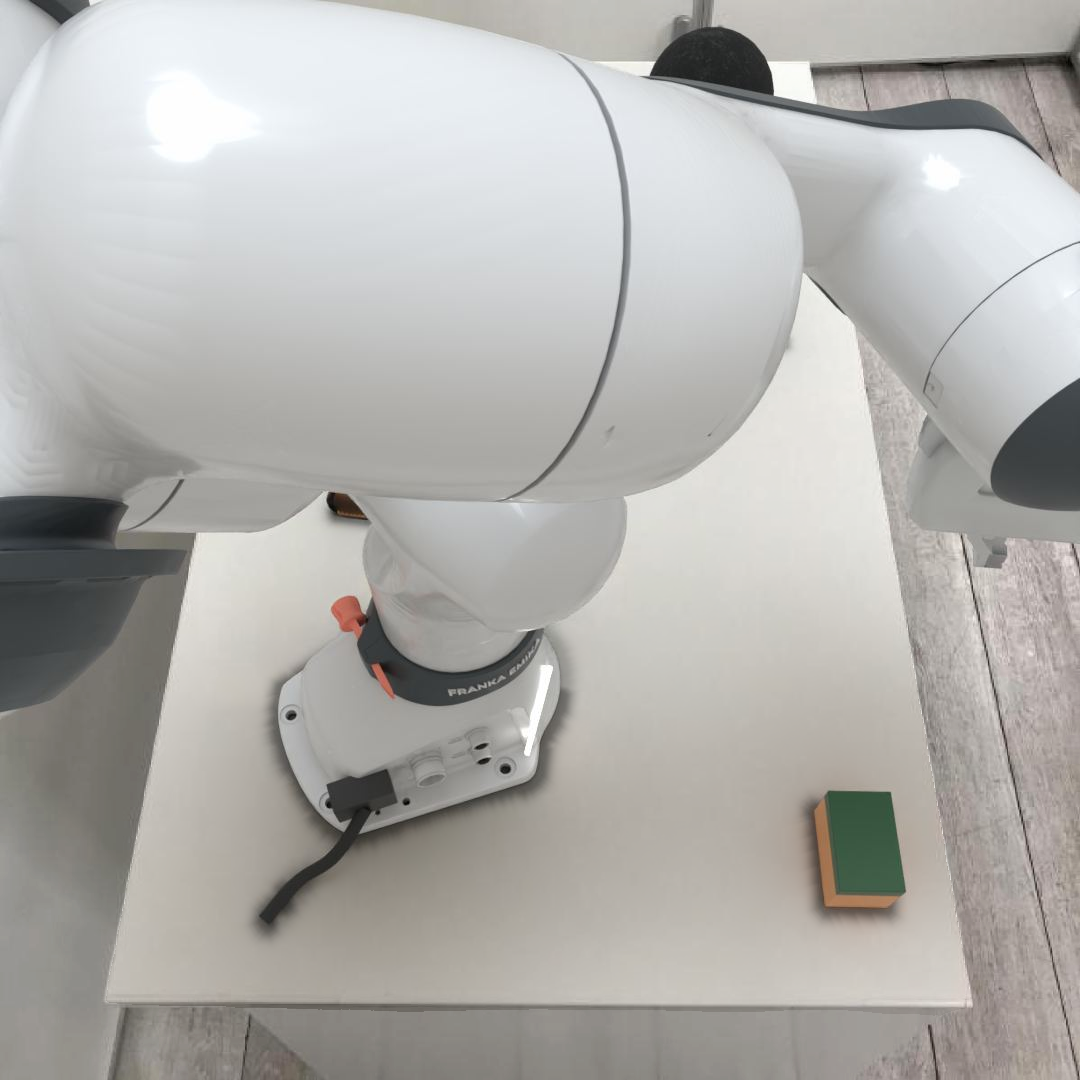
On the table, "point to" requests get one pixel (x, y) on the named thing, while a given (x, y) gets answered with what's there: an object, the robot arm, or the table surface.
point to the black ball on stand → (716, 60)
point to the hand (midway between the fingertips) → (1072, 565)
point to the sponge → (859, 849)
